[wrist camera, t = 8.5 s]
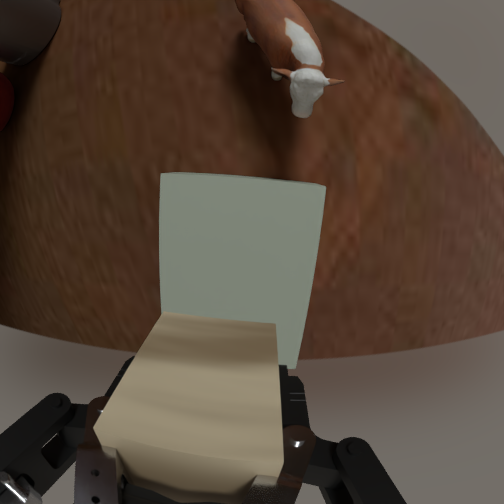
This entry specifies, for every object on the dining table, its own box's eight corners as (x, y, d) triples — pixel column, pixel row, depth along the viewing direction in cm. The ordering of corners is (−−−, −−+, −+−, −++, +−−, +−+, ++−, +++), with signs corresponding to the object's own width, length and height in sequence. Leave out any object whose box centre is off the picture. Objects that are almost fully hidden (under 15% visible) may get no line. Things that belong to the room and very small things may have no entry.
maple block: (163, 311, 12) (92, 427, 6) (275, 323, 12) (284, 461, 6) (170, 389, 14) (131, 496, 7) (263, 401, 14) (261, 518, 7)
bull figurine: (282, 133, 22) (292, 116, 15) (231, 10, 19) (219, -39, 11) (330, 119, 22) (361, 99, 14) (276, -1, 18) (279, -51, 10)
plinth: (176, 172, 24) (161, 173, 20) (316, 183, 23) (326, 186, 20) (175, 332, 28) (165, 355, 24) (291, 344, 28) (295, 368, 24)
